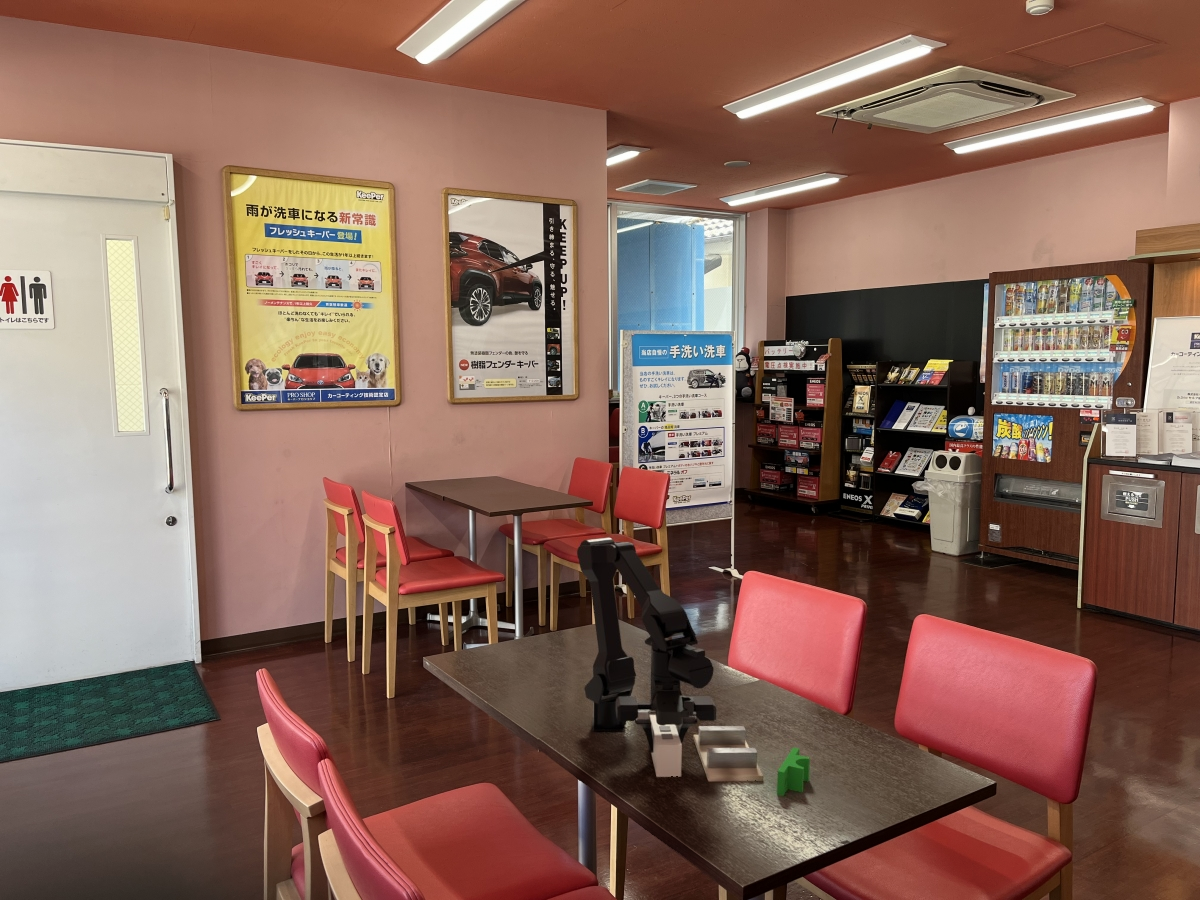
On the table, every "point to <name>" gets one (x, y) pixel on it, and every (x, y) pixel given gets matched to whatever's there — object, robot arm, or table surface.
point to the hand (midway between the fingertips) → (664, 751)
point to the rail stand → (727, 754)
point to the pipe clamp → (793, 772)
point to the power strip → (666, 749)
